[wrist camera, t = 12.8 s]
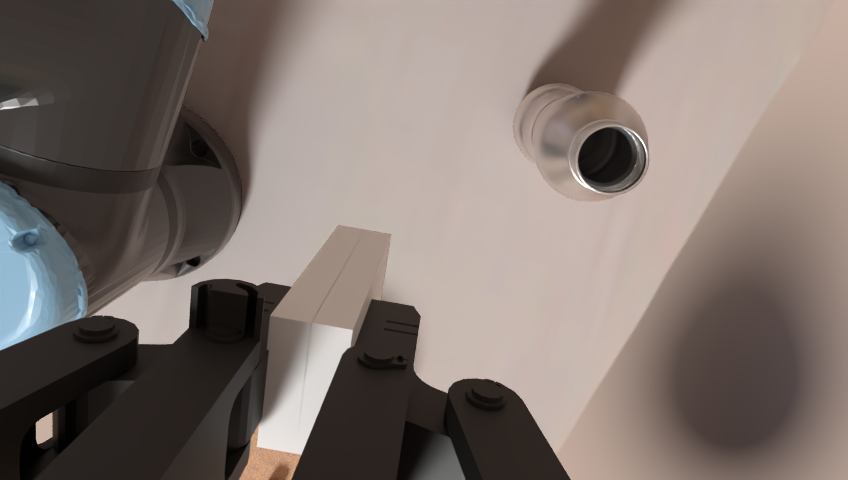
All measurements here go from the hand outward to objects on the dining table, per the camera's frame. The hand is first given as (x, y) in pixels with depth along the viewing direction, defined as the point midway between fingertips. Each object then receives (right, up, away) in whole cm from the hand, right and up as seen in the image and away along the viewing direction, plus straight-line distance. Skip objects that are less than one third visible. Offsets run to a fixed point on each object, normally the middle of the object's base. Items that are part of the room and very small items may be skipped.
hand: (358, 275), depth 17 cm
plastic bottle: (+12, +10, +32) cm, 36 cm away
